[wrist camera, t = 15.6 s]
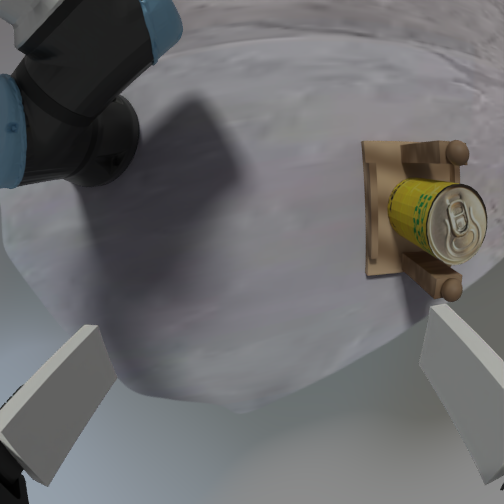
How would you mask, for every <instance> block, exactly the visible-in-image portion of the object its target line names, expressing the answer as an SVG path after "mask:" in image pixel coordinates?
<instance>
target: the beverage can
mask: <svg viewBox="0 0 504 504" xmlns="http://www.w3.org/2000/svg"><path fill="white" fill-rule="evenodd" d="M387 211H388V218H389V221H390V224H391V226H392V227H393V229H394V230H395V231H396V232H397V233H398V234H399V235H400V236H402V237H404V238H405V239H407V240H408V241H410V242H412V243H413V244H415V245H417V246H418V247H420V248H421V249H423V250H425V251H426V252H428V253H429V254H431V255H432V256H434V257H436V258H437V259H439V260H440V261H442V262H444V263H446V264H449V265H458V264H462V263H464V262H466V261H468V260H470V259H471V258H472V257H473V256H474V255H475V254H476V253H477V251H478V250H479V248H480V247H481V245H482V243H483V240H484V238H485V234H486V230H487V212H486V207H485V205H484V202H483V200H482V198H481V196H480V195H479V194H478V192H477V191H475V190H474V189H473V188H472V187H470V186H467V185H464V184H459V183H453V182H446V181H439V180H432V179H425V178H417V177H415V178H408V179H405V180H402V181H401V182H400V183H399V184H397V185H396V187H395V188H394V189H393V191H392V192H391V195H390V197H389V200H388V206H387Z"/></svg>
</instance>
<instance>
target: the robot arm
mask: <svg viewBox="0 0 504 504" xmlns="http://www.w3.org/2000/svg"><path fill="white" fill-rule="evenodd" d="M0 18H2V19H3V20H5V21H6V22H8V23H9V24H11V25H12V26H13V28H14V45H15V48H16V49H18V50H19V51H21V52H22V53H24V54H26V55H25V57H24V58H23V60H22V61H21V62H20V64H19V65H18V66H17V68H16V69H15V70H14V72H13V73H12V74H11V75H8V74H1V75H0V188H9V189H13V188H16V187H18V186H23V185H28V184H34V183H39V182H45V181H51V180H58V179H64V180H67V181H69V182H71V183H73V184H76V185H79V186H83V187H94V186H100V185H104V184H107V183H109V182H111V181H113V180H115V179H116V178H117V177H119V176H120V175H121V174H122V173H123V172H124V170H125V169H126V168H127V167H128V165H129V164H130V162H131V160H132V158H133V156H134V154H135V151H136V148H137V144H138V138H139V125H138V119H137V115H136V113H135V110H134V108H133V107H132V105H131V104H130V103H129V101H128V100H127V99H125V98H124V97H123V96H121V95H119V94H120V93H121V92H122V91H123V90H125V89H126V88H127V87H128V86H129V85H130V84H131V83H132V82H133V81H134V80H135V79H136V78H137V77H139V76H140V75H141V74H142V73H143V72H144V71H145V70H147V69H148V68H149V67H150V66H151V65H155V64H156V63H157V62H158V59H159V58H160V57H161V56H162V55H163V54H164V53H166V52H167V51H168V50H169V49H170V48H171V47H173V46H174V45H175V44H176V43H177V42H178V41H179V40H180V38H181V36H182V32H183V26H182V21H181V18H180V15H179V13H178V11H177V9H176V7H175V5H174V3H173V2H172V0H0ZM419 365H420V367H421V368H422V370H423V372H424V373H425V375H426V376H427V378H428V380H429V382H430V383H431V385H432V387H433V388H434V390H435V392H436V393H437V395H438V397H439V398H440V400H441V402H442V403H443V405H444V407H445V409H446V410H447V412H448V414H449V416H450V417H451V419H452V421H453V423H454V424H455V427H456V428H457V430H458V432H459V434H460V435H461V438H462V439H463V441H464V443H465V445H466V447H467V449H468V451H469V453H470V455H471V457H472V459H473V461H474V463H475V465H476V467H477V469H478V471H479V473H480V475H481V477H482V479H483V482H484V484H485V485H487V484H489V483H491V482H492V481H494V480H496V479H498V478H500V477H501V476H503V475H504V361H503V360H502V359H501V358H500V357H499V356H498V355H497V354H496V353H495V352H494V351H493V349H491V348H490V346H489V345H487V343H486V342H485V341H484V340H483V339H482V338H481V337H480V336H479V335H478V334H477V333H476V332H475V331H474V330H473V329H472V328H471V327H470V326H469V325H468V324H467V323H466V322H465V321H464V320H462V318H460V317H459V316H458V315H457V314H456V313H455V312H454V311H453V310H452V309H451V308H450V307H449V306H448V305H447V304H441V305H435V306H430V310H429V316H428V322H427V328H426V333H425V338H424V343H423V347H422V352H421V356H420V361H419ZM116 379H117V375H116V373H115V370H114V368H113V365H112V363H111V360H110V358H109V355H108V352H107V349H106V347H105V344H104V341H103V338H102V335H101V332H100V329H99V326H98V325H84V326H83V327H82V328H80V329H79V330H78V331H77V332H76V333H75V334H74V335H73V336H72V337H71V338H70V339H69V340H68V341H67V342H66V343H65V344H64V345H63V346H62V347H61V348H60V349H59V350H58V351H57V352H56V353H55V354H54V355H53V356H52V357H51V358H50V359H49V360H48V361H47V362H46V363H45V364H44V365H43V366H42V367H41V368H40V369H39V370H38V371H37V372H36V373H35V374H34V375H33V376H32V377H31V378H30V379H29V380H28V381H27V382H26V383H25V384H24V385H22V386H20V387H19V388H18V389H17V390H16V392H15V393H14V394H13V396H11V397H10V398H9V399H8V400H7V403H4V404H3V405H2V407H1V408H0V504H29V501H28V495H27V488H26V481H25V478H24V476H23V475H22V474H21V472H22V471H23V470H25V471H26V472H27V473H28V475H29V476H30V477H31V478H32V479H33V480H35V481H37V482H39V483H41V484H43V485H45V486H47V487H48V486H49V484H50V482H51V481H52V479H53V478H54V476H55V474H56V473H57V471H58V469H59V468H60V466H61V464H62V463H63V461H64V459H65V458H66V456H67V455H68V453H69V451H70V450H71V448H72V447H73V445H74V443H75V442H76V440H77V439H78V437H79V436H80V434H81V432H82V431H83V429H84V427H85V426H86V425H87V423H88V421H89V420H90V418H91V417H92V415H93V414H94V412H95V411H96V409H97V408H98V406H99V405H100V403H101V401H102V400H103V398H104V397H105V395H106V394H107V392H108V391H109V389H110V388H111V386H112V385H113V383H114V382H115V381H116ZM503 489H504V484H503V485H502V487H501V489H500V490H503Z"/></svg>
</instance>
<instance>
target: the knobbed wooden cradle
mask: <svg viewBox="0 0 504 504" xmlns="http://www.w3.org/2000/svg"><path fill="white" fill-rule="evenodd" d="M361 144H362V155H363V169H364V186H365V213H366V268H365V273H366V274H367V276H370V275H380V274H390V273H399V272H405V273H406V274H407V275H409V276H410V277H411V278H412V279H413V280H414V281H415V282H416V283H417V284H418V285H420V286H421V287H422V288H423V289H424V290H425V291H426V292H427V293H428V294H429V295H430V296H431V297H432V298H434V299H438V298H444V299H445V300H446V301H449V302H454V301H456V300H458V299H459V298H460V296H461V294H462V284H461V282H462V275H461V274H459V273H458V272H456V271H455V270H453V269H452V268H450V267H451V265H449V264H446V263H444V262H442V261H440V260H439V259H437V258H436V257H434V256H432V255H431V254H429V253H428V252H426V251H425V250H423V249H421V248H420V247H418V246H417V245H415V244H413V243H412V242H410V241H408V240H407V239H405V238H404V237H402V236H400V235H399V234H398V233H397V232H396V231H395V230H394V229H393V227H392V226H391V224H390V221H389V218H388V211H387V206H388V200H389V197H390V195H391V192H392V191H393V189H394V188H395V187H396V185H397V184H399V183H400V182H401V181H402V180H405V179H408V178H415V177H417V178H425V179H432V180H439V181H446V182H453V183H459V184H460V166H462V165H467V161H468V159H469V150H468V148H467V146H466V143H463V142H461V141H459V140H453V141H451V142H449V141H430V142H400V141H361Z"/></svg>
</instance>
